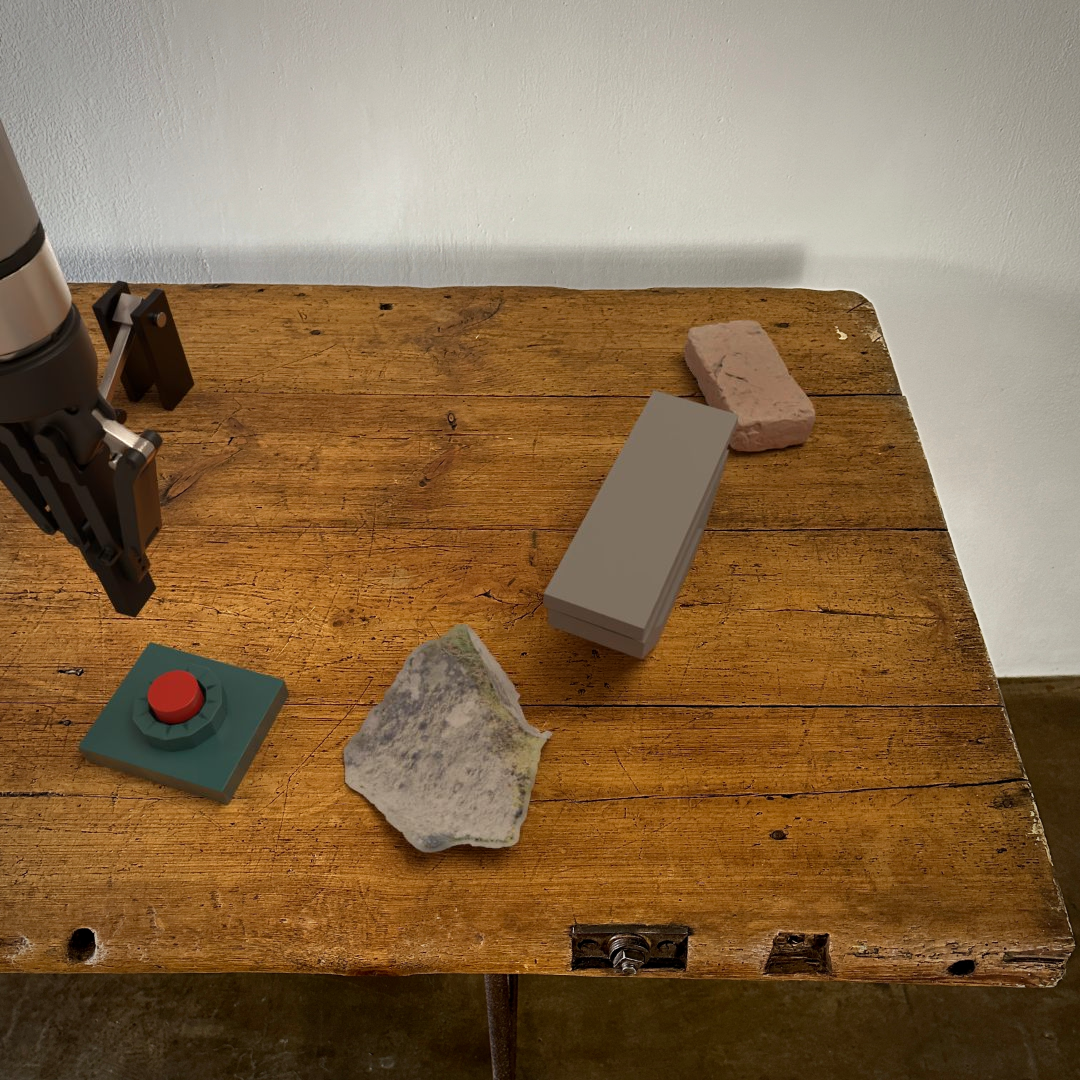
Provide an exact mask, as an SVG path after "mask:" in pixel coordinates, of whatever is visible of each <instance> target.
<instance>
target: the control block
mask: <svg viewBox="0 0 1080 1080" xmlns="http://www.w3.org/2000/svg"><path fill="white" fill-rule="evenodd" d="M171 671H185V672H188V673H190V674H192V675H193V676H194V677H195V679H196V680H197V683H198V685H199V687H200V689H201V691H202V694H203V703H202V706H201V708H200V710H199V711H198V712H197V714H196V715H194V716H193V717H192V718H191V719H189V720H187V721H185V722H182V723H177V724H170V723H166V722H163V721H161V720H160V719H159V718H158V717H157V716H156V714H155V713H154V711H153V709H152V707H151V705H150V703H149V701H148V691H149V688H150V686H151V685H152V683H153V682H154V681H155V680H156V679H157V678H158V677H160V676H161V675H163V674H165V673H167V672H171ZM289 696H290V692H289V689H288V686H287V683H286V680H285V679H283V678H279V677H276V676H271V675H268V674H265V673H261V672H258V671H254V670H251V669H248V668H244V667H240V666H236V665H233V664H229V663H226V662H222V661H219V660H215V659H211V658H208V657H205V656H202V655H197V654H194V653H191V652H187V651H184V650H180V649H177V648H174V647H169V646H166V645H162V644H159V643H155V642H151V641H150V642H149V643H148V644H147V645H146V647H145V648H144V650H143V651H142V652H141V654H140V656H139V657H138V659H136V661H135V663H134V664H133V665H132V667H131V669H130V670H129V672H128V673H127V674H126V676H124V678H123V680H122V681H121V683H120V684H119V685H118V687H117V689H116V691H115V692H114V693H113V695H112V696H111V697H110V699H109V700H108V702H106V703H107V704H106V705H105V706H104V708H103V709H102V710H101V712H100V714H99V715H98V716H97V718H96V719H95V721H94V722H93V724H92V725H91V727H90V728H89V730H88V731H87V732H86V734H85V735H84V737H83V739H82V740H81V741H80V743H79V744H78V746H77V749H78V750H79V752H80V754H81V755H82V756H83V758H84V759H85V761H86V762H89V763H92V764H96V765H98V766H101V767H105V768H108V769H111V770H114V771H116V772H120V773H123V774H126V775H129V776H133V777H136V778H140V779H142V780H146V781H149V782H152V783H156V784H159V785H162V786H166V787H169V788H172V789H175V790H178V791H181V792H184V793H187V794H191V795H194V796H198V797H201V798H204V799H206V800H210V801H213V802H216V803H219V804H223V805H226V806H229V805H230V803H231V802H232V800H233V798H234V796H235V794H236V792H237V790H238V789H239V787H240V785H241V784H242V782H243V780H244V778H245V776H246V775H247V772H248V770H249V768H250V767H251V765H252V763H253V761H254V760H255V758H256V756H257V754H258V752H259V750H260V749H261V747H262V745H263V743H264V742H265V739H266V737H267V736H268V734H269V732H270V731H271V729H272V728H273V725H274V724H275V721H276V720H277V718H278V716H279V715H280V712H281V711H282V709H283V708H284V705H285V704H286V701H287V699H288V698H289Z"/></svg>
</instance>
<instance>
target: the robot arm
mask: <svg viewBox="0 0 1080 1080" xmlns="http://www.w3.org/2000/svg"><path fill="white" fill-rule="evenodd" d="M47 234H48V233H47V232H46V229H45V228H44V225H43V223H42V220H41V218H40V215H39V213H38V210H37V207H36V205H35V203H34V200H33V197H32V195H31V193H30V189H29V187H28V185H27V182H26V180H25V177H24V174H23V171H22V169H21V167H20V164H19V162H18V159H17V157H16V154H15V151H14V150H13V146H12V144H11V142H10V140H9V137H8V135H7V131H6V129H5V126H4V124H3V121H2V119H1V118H0V482H1V483H2V485H4V487H5V488H6V489H7V491H8V492H9V493H10V494H11V496H12V497H13V498H14V499H15V500H16V502H17V503H18V504H19V505H20V507H21V508H22V510H24V511H25V513H26V514H27V515H28V516H29V518H30V519H31V520H32V521H33V523H34V524H35V525H36V526H37V527H38V529H39V530H40V531H42V532H43V533H44V534H46V535H49V536H55V534H56V533H57V532H59V533H61V534H63V536H64V538H65V540H67V542H68V543H69V544H70V545H72V546H73V547H75V548H77V549H78V550H79V552H80V554H81V556H82V557H83V559H84V561H85V563H86V565H87V567H88V568H89V569H90V570H91V571H92V572H93V573H95V574H96V576H97V578H98V580H99V582H100V584H101V586H102V589H103V590H104V592H105V593H106V595H107V597H108V599H109V602H110V603H111V605H112V607H113V609H114V611H115V612H116V614H120V615H123V616H127V617H131V618H134V619H136V618H137V616H138V615H139V614H140V612H141V611H142V609H144V607H145V605H146V604H147V603H148V601H149V600H150V599H151V597H152V596H153V594H154V593H155V591H156V590H157V586H156V584H155V581H154V579H153V577H152V575H151V572H150V569H151V566H152V565H151V562H150V560H149V557H148V555H147V552H146V551H147V549H148V548H149V546H151V544H152V542H153V541H154V540H155V539H156V537H157V536H158V534H160V532H161V530H162V529H163V520H162V519H163V518H162V510H161V500H160V492H159V491H160V490H159V481H158V472H157V463H156V462H157V461H156V456H157V455H158V452H159V451H160V449H161V447H162V445H163V442H164V440H163V437H162V436H161V435H160V434H159V433H158V432H157V431H155V430H154V429H150V428H145V429H144V430H143V431H142V432H141V433H140V435H138V434H137V433H135V432H133V431H132V430H130V429H129V428H127V427H126V426H124V425H121V424H119V423H118V422H116V413H115V411H114V409H113V408H114V407H113V406H112V404H109V402H108V401H107V400H106V399H105V398H104V397H103V396H102V394H101V393H100V391H99V386H98V371H99V359H98V354H97V351H96V349H95V346H94V343H93V341H92V339H91V337H90V334H89V332H88V329H87V327H86V325H85V321H84V320H83V317H82V315H81V313H80V310H79V308H78V307H77V305H76V304H75V303H74V302H73V297H72V294H71V291H70V287H69V286H68V283H67V281H66V278H65V276H64V274H63V271H62V269H61V266H60V264H59V261H58V259H57V257H56V254H55V251H54V248H53V247H52V245H51V242H50V239H49V237H48V235H47ZM47 507H48V508H49V509H48V510H47Z"/></svg>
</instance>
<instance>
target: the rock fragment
mask: <svg viewBox="0 0 1080 1080" xmlns="http://www.w3.org/2000/svg"><path fill="white" fill-rule="evenodd" d="M520 697H521V694H520V693H519V692H517V689H516V686H515V685H514V683H513V682H512V681H511V680H510V678H509V676H508V673H506V672H505V670H503V669H502V667H501V664H500V663H499V662H498V661H497V660H496V658H495V657H494V655H492V654H491V653H490V650H489V649H488V648H487V645H486V644H485V643H483V641H482V640H481V637H479V635H478V634H477V633H476V632H475V631H474V630H473V629H472V627H471V626H469V624H466V623H458V624H456V625H454V626H452V628H451V629H450V630H449V631H447V632H446V633H445V634H442V636H441V637H439V638H433V639H429V640H427V641H425V642H423V643H421V644H419V645H418V646H416V647H415V648H414V649H413V650H412V652H411V653H410V654H409V655H407V656H406V659H405V660H404V662H403V666H402V669H401V670H399V671H398V673H397V674H396V677H395V681H393V682H392V683H391V685H390V687H389V688H388V689H386V690H385V692H384V696H383V700H382V701H381V702H380V703H378V704H376V705H375V706H374V707H373V708H371V709H370V710H369V712H368V713H367V716H366V718H365V719H364V721H363V722H362V725H361V727H360V730H359V731H358V732H355V733H354V735H352V736H350V737H351V738H350V739H349V741H348V743H347V744H346V746H344V748H343V762H344V782H345V783H346V784H347V786H348V787H349V788H351V789H352V790H354V791H356V792H358V793H359V794H361V795H362V796H363V797H365V798H366V799H367V800H368V801H369V802H370V803H371V804H373V805H374V807H375V808H376V809H377V810H378V811H379V812H381V814H383V815H384V817H385V820H386V821H387V822H388V823H389V824H390V826H392V827H394V828H395V829H397V831H398V832H400V833H402V835H403V837H404V838H405V839H406V841H407V842H408V843H409V844H411V845H412V846H413V847H414V848H415V849H417V850H419V851H420V852H424V853H436V852H442V851H444V850H445V851H446V849H450V848H451V847H455V846H458V845H471V846H472V847H483V848H487V849H488V848H492V849H500V848H504V847H505V848H507V847H512V846H514V845H516V844H517V843H518V842H519V840H520V836H521V834H520V832H521V827H522V825H523V823H524V822H525V820H526V818H527V816H528V809H529V805H530V801H531V797H532V790H533V789H534V787H535V784H536V776H537V773H538V769H539V767H538V764H539V762H541V754H542V753H541V750H542V748H543V747H544V745H545V743H547V742H548V740H549V739H551V737H552V736H553V733H552V732H551V731H550V730H548V729H547V730H545V731H543V732H542V733H541V730H540V729H539V728H538V727H534V726H532V725H531V724H530V723H529V722H528V721H527V719H526V718H525V714H524V713H523V709H522V706H521V705H520V703H519V699H520Z"/></svg>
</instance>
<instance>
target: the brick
mask: <svg viewBox="0 0 1080 1080" xmlns="http://www.w3.org/2000/svg"><path fill="white" fill-rule="evenodd" d="M686 340H687V341H685V343H684V355H683V357H685V358H683V359H684V361H685V362H686V367H687V368H688V367H689V369H690V370H689V369H688V370H689V372H690V371H691V372H692V374H693V375H694V376H693V375H692V374H691V375H692V376H693V377H694V378H696V382H697V381H698V383H697V385H698V388H699V390H700V391H701V394H702V395H703V396H704V398H705V402H706V404H707V406H710V407H714V408H717V409H721V410H724V411H728V412H731V413H734V414H738V415H739V417H738V421H737V425H736V429H735V431H734V433H733V435H732V438H731V440H730V442H729V446H730V447H731V448H732V449H733V450H735V451H737V452H764V451H766V450H770V449H784V448H786V447H788V446H793V445H801V444H803V443H807V442H808V439H809V437H810V436H811V433H812V430H813V427H814V424H815V422H816V410H815V408H814V404H813V403H812V401H811V400H810V398H809V397H808V395H807V394H806V393H805V391H804V390H803V389H802V388H801V387H800V385H799V384H798V382H797V381H796V380H795V378H794V377H793V376H792V375H790V373H789V369H788V367H787V366H786V364H785V362H784V360H783V358H782V357H781V355H780V353H779V351H778V350H777V348H776V346H775V345H774V343H773V340H772V339H771V338H770V337H769V336H768V332H766V330H764V329H763V328H762V324H760V323H759V322H758V321H756V320H750V319H749V320H748V319H747V320H743V319H738V320H730V321H729V322H718V323H716V324H713V323H711V324H710V323H709V324H705V325H702V326H694V327H691V328H689V330H688V332H687V335H686ZM691 372H690V373H691Z"/></svg>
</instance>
